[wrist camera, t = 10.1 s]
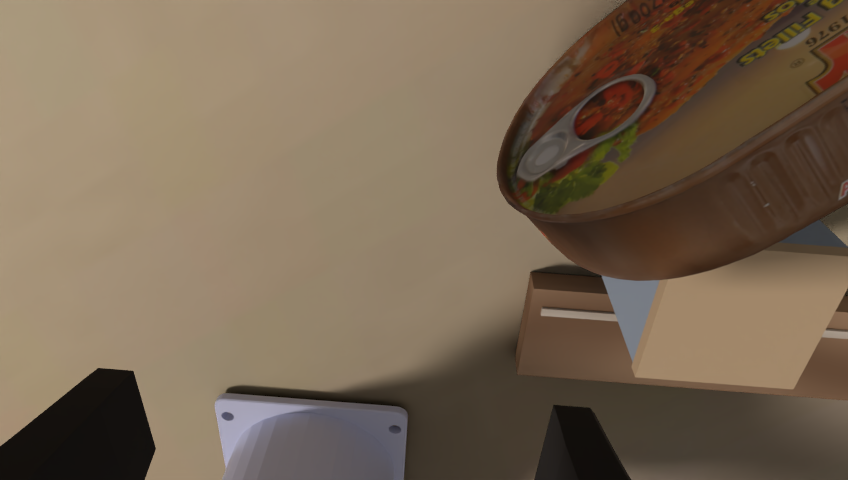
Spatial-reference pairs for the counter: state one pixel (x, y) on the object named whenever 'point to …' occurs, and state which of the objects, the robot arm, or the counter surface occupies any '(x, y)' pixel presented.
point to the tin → (685, 135)
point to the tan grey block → (736, 314)
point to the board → (607, 351)
